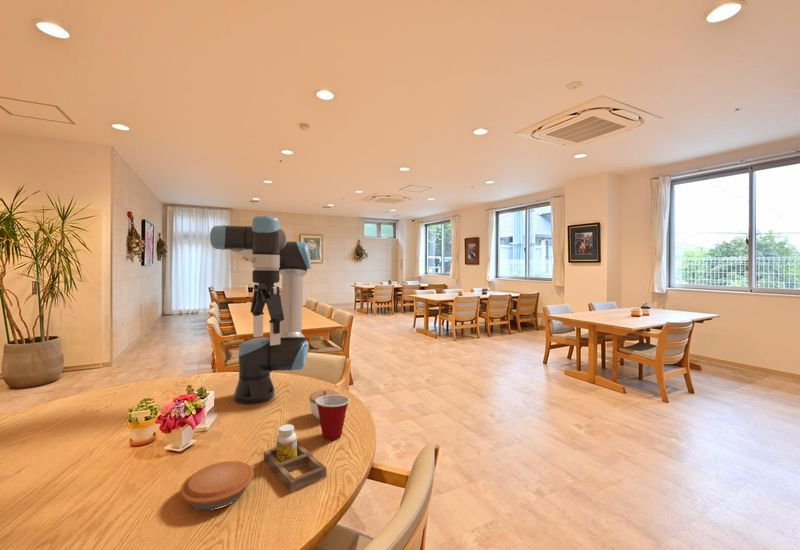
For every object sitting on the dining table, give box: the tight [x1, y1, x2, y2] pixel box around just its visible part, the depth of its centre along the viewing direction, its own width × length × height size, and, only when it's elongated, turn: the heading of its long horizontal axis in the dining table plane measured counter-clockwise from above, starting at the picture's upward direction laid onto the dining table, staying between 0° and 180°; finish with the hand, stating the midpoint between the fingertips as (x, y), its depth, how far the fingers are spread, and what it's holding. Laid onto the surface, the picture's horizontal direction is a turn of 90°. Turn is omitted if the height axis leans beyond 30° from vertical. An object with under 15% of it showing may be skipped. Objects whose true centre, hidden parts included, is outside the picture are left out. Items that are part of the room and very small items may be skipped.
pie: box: [179, 460, 255, 511], centre depth 84 cm, size 15×16×5 cm
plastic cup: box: [316, 394, 351, 441], centre depth 113 cm, size 11×11×12 cm
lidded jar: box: [308, 389, 341, 421], centre depth 127 cm, size 11×11×9 cm
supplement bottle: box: [275, 423, 298, 463], centre depth 98 cm, size 5×5×10 cm
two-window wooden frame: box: [263, 441, 327, 493], centre depth 95 cm, size 18×10×2 cm, turn 41°
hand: (266, 340), depth 106 cm, fingers open, 13 cm apart
